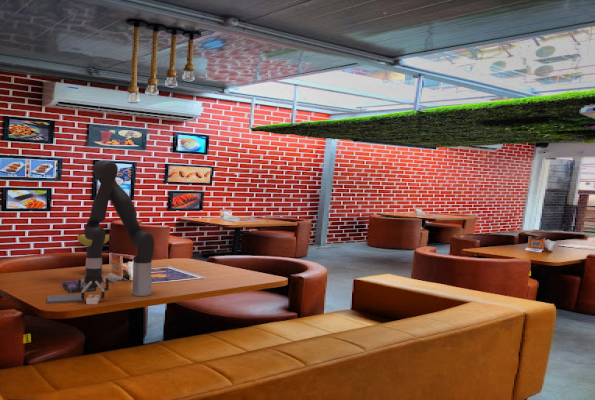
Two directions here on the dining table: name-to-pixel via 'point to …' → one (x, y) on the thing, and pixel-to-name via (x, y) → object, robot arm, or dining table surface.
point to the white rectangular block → (93, 299)
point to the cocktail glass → (88, 242)
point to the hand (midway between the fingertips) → (92, 299)
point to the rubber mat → (64, 298)
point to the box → (75, 286)
